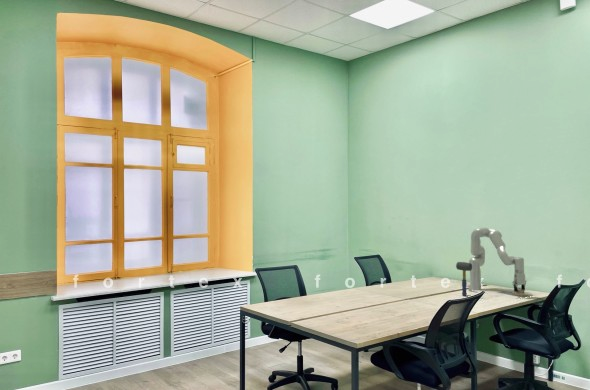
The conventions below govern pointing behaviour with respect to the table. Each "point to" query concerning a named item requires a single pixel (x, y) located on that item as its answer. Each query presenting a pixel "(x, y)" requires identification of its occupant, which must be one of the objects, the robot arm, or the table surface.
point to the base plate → (510, 293)
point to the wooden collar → (520, 293)
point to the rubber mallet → (464, 274)
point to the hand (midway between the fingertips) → (519, 290)
